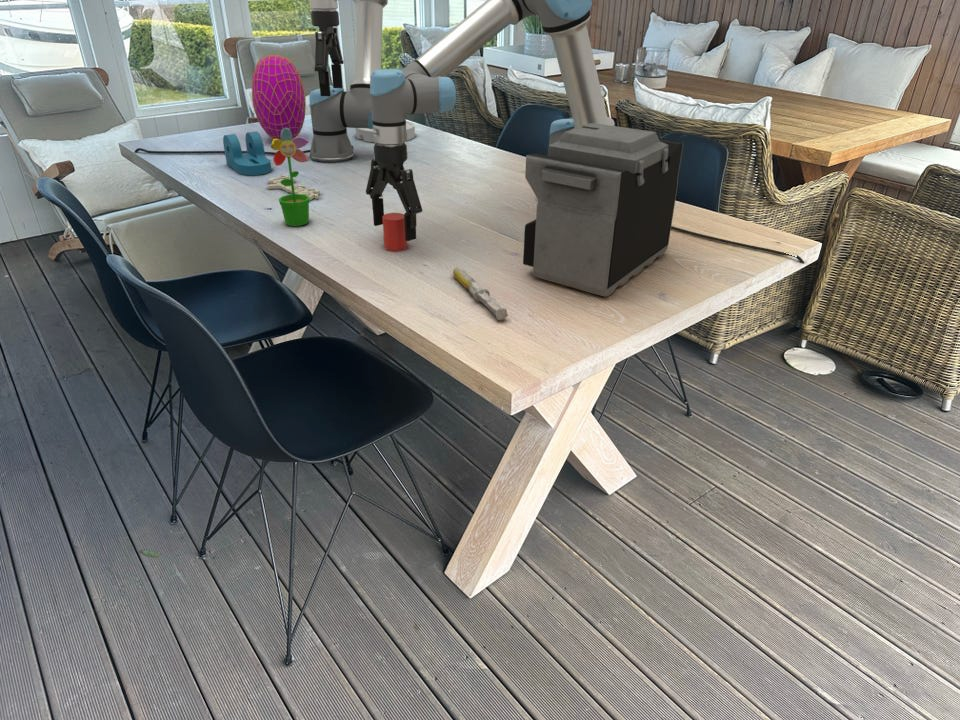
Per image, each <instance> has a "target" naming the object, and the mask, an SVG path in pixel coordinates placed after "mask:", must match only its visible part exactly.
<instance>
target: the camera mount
mask: <svg viewBox="0 0 960 720" xmlns="http://www.w3.org/2000/svg"><path fill="white" fill-rule="evenodd" d="M222 140H223V141H222V143H223V149H224V150H223V151H225V153H224V156H225V161H226V165H227V166H228V167H230V168H231V169H232V170H234V171H236V172H237V173H238V174H239V175H244V176H260V175H265V174H268V173H271V172H272V164H271V159H270V158H268V157H267V156H266V154H265V152H266V151H265V145H264V141H263V139H262V136H261V134H260V132H258V131H247V132H246V133H245V146H246V151H247V153H242V151H243V149H242V146H241V142H240V140H239V138H238V135H236V134H235V133H231V134H224V135H223V138H222Z"/></svg>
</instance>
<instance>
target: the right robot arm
mask: <svg viewBox="0 0 960 720" xmlns="http://www.w3.org/2000/svg"><path fill="white" fill-rule="evenodd" d="M592 6H593V0H485V1H484V2H483V3H482V4H480V5H479V6H478V7H477V8H476V9H474V10H473V11H472V12H471V13H470V14H468V15H467V16H466V17H465V18H464V19H462V20H461V21H459V23H457V24H456V25H455V26H454V27H453V28H451V29H450V30H449V31H447V32H446V33H445V34H444V35H443V36H442V37H440V38H439V39H438V40H437V41H436V42H435V43H433V44H432V45H431V46H429V48H427V49H426V50H425V51H424V52H423V53H422V54H420V55H419V56H418V57H417V58H415V59H414V60H412V61H411V62H410V63H409V64H408V65H406V66H405V67H398V68H395V69H394V68H393V69H392V68H383V69H382V68H381V69H380V70H375V71H373V72H372V73H371V76H370V95H371V107H372V121H373V137H374V142H373V143H374V144H373V156H374V159H371V160H370V171H369V175H368V179H367V183H366V188H365V194H366V195H369V198H370V199H371V206H372V216H373V217H372V220H373V226H374V227H377V226H383V215H385V211H384V210H385V207H384V206H385V205H384V198H383V197H384V195H383V193H384V191H385V190H386V187H387V185H388V184H389V185H390V186H392V188H393V189H394V190H395V191H396V193H397V195H398V197H399V200H400V202H401V204H402V207H403V209H404V210H405V213H403V214H404V222H405V241H407V242H410V241H413V240H417V214H419V213H420V214H421V213H423V207H422V204H421V200H420V196H419V194H418V190H417V187H416V183H415V180H414V172H413V171H414V170H413V169H412V168H410V169H405V167H404V164H405V162H406V161H407V160H408V146H407V145H408V144H406V142H407V141H408V140H407V134H406V121H407V115H409V116H410V115H411V116H412V115H421V114H436V113H437V114H441V113H445V112H451V111H452V110H453V109H454V108H455V106H456V102H457V90H456V86H455V82H454V80H453V79H452V78H451V77H449V76H448V75H450V74H451V73H452V72H453V71H455V70H456V69H457V68H459V67H460V65H462V64H464V63H465V61H467V60H468V59H469V58H470V57H472V56H473V55H474V54H476V52H478V51H479V50H480V49H481V48H483V47H484V46H485V45H486V44H487V43H489V42H490V41H491V40H492V39H494V38H495V37H496V36H497V35H498V34H499V33H501V32H502V31H503V30H504V29H506V28H507V27H508V26H509V25H512V26H513V25H514V26H515V25H517V24H518V23H520V22H521V21H523V20H524V19H526V18H528V17H530V16H538V18H539V20H540V24H541V28H542V31H543V34H545V35H547V36H549V37H550V38H551V41H552V44H553V49H554V52H555V56H556V60H557V64H558V68H559V72H560V76H561V79H562V82H563V87H564V90H565V94H566V99H567V102H568V107H569V109H570V113H571V118H562V119H556V120H554V121H553V122H551V124H550V127H549V128H550V129H549V134H548V136H549V141H548V142H549V144H548V146H549V145H551V144H553V143H555V142H558V141H559V140H560V138H561V137H562V135H563V133H564V132H566V131H569V130H572V129H580V128H582V126H584V125H586V124H589V123H597V124H604V125H611V126H616V123H615V121H614V119H613V118H611V117H609V116H608V115H607V110H606V105H605V102H604V98H603V94H602V93H603V92H602V89H601V83H600V80H599V76H598V75H599V74H598V71H597V66H596V61H595V57H594V53H593V48H592V44H591V39H590V35H589V31H588V26H587V24H588V22H589V21H590V19H591V16H592V15H591V8H592ZM671 230H674V231H677V232H681V233H684V234H688V235H692V236H695V237H700V238H703V239H707V240H712V241H716V242H721V243H725V244H729V245H734V246H738V247H743V248H746V249H752V250H757V251H762V252H767V253H772V254H775V255H780V256H787V257H793V258H795V259H797V261H798V262H799V263H800V264H805V261H804V260H803V258H802V257H801V256H800V255H798V254H796V255H797V257H795V256H792V255H789V254H786V253H787V252H786V253H784V251H780V250H776V249H771V248H767V247H766V248H765V247H761V246H756V245H751V244H746V243H743V242H737V241H732V240H728V239H723V238H719V237H715V236H711V235H707V234H702V233H697V232H695V231H692V230H688V229H683V228H680V227H676V226H673V225H671Z"/></svg>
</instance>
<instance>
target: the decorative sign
mask: <svg viewBox="0 0 960 720" xmlns="http://www.w3.org/2000/svg"><path fill="white" fill-rule="evenodd" d="M283 179H290V175H286V174H280V176H279V177H272V178H269V179H268V183H269V184H267V189H268V190H276V189H280V190H283V191H285V192H286V193H290V194H292V188H291V186H284V185H282V184H281V181H282V180H283ZM293 183H294V191H295V194H304V195H307V196H309V201H312V200H314V199H315V200H318V199H319V195H320V194H321V192H320V190H319V189H317V190H316V188H315V187H309V188H307V187H306V186H305V184H300V183H296V177H294V178H293ZM295 183H296V184H295Z"/></svg>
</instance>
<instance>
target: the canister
mask: <svg viewBox="0 0 960 720" xmlns="http://www.w3.org/2000/svg"><path fill="white" fill-rule="evenodd" d="M404 214H405V213H401V212H389V213H384V215H383V224H382V231H383V245H384V247H383V248H384V249H385V250H387V251H389V252H390V251H391V252H400V251H403V250H406V249H407V248H408V241H405V222H404Z"/></svg>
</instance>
